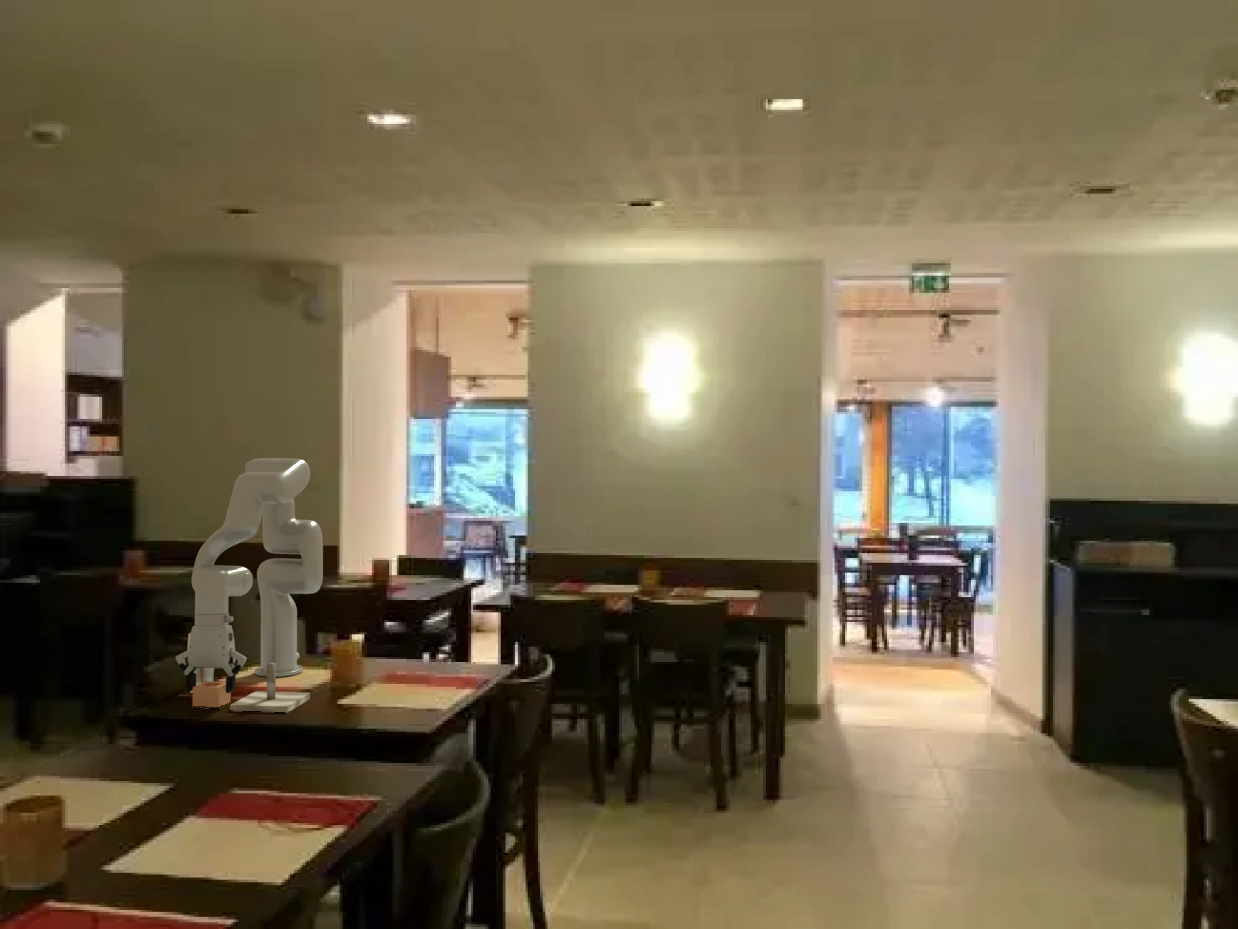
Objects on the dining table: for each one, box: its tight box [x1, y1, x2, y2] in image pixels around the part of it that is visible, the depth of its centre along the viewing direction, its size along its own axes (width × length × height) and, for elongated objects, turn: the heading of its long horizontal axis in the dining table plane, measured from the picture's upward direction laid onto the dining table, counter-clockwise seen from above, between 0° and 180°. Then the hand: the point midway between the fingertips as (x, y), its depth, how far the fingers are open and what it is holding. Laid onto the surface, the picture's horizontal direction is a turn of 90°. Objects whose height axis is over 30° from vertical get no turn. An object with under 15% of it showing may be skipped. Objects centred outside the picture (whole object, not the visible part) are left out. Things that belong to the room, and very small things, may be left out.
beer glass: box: [187, 632, 215, 694], centre depth 268 cm, size 7×7×15 cm
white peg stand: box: [229, 663, 311, 714], centre depth 255 cm, size 14×14×10 cm
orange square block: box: [192, 680, 232, 707], centre depth 254 cm, size 6×6×5 cm
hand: (210, 691), depth 254 cm, fingers open, 9 cm apart
